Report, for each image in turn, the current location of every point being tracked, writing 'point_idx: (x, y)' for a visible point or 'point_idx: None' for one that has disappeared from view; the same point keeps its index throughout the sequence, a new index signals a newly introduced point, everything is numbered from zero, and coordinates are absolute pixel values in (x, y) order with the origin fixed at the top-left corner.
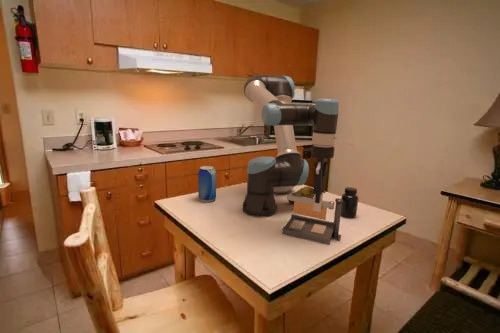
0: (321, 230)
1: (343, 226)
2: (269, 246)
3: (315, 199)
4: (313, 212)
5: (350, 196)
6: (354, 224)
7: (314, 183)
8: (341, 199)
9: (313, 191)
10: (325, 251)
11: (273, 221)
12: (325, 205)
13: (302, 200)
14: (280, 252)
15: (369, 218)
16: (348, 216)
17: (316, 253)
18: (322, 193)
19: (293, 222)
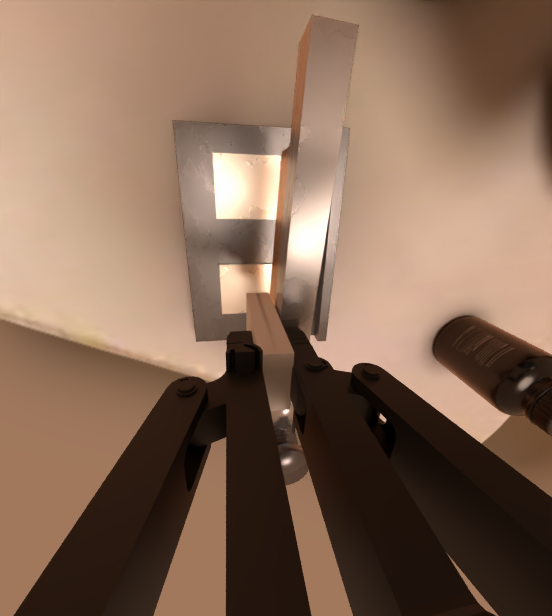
0: None
1: (360, 343)
2: (11, 97)
3: (227, 347)
4: (275, 282)
5: (515, 398)
6: (386, 368)
7: (82, 526)
8: (297, 476)
9: (161, 396)
10: (143, 329)
11: (300, 23)
12: None
13: (285, 216)
14: (3, 173)
15: (443, 396)
16: (436, 349)
17: (108, 306)
18: (287, 407)
19: (271, 162)
